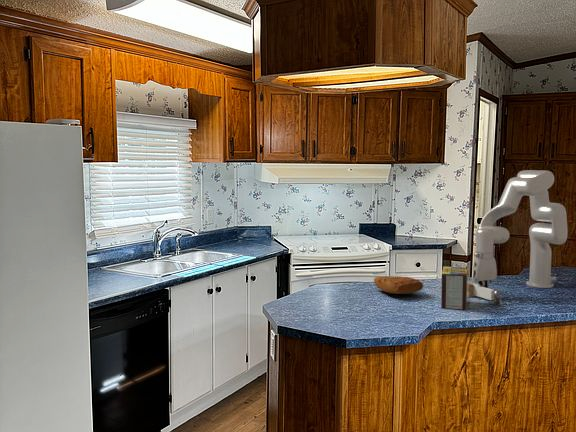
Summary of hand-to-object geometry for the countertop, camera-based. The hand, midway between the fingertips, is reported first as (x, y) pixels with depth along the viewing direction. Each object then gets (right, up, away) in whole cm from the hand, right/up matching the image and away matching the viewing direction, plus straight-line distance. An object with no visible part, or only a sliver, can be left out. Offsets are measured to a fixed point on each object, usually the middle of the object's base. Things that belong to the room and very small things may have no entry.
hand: (484, 294), depth 240 cm
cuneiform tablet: (-39, -1, +8) cm, 40 cm away
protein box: (-18, -3, -12) cm, 22 cm away
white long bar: (-3, -1, -3) cm, 4 cm away
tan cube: (-4, 0, +12) cm, 12 cm away
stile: (-7, -1, +1) cm, 7 cm away
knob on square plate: (+1, -3, -11) cm, 12 cm away
